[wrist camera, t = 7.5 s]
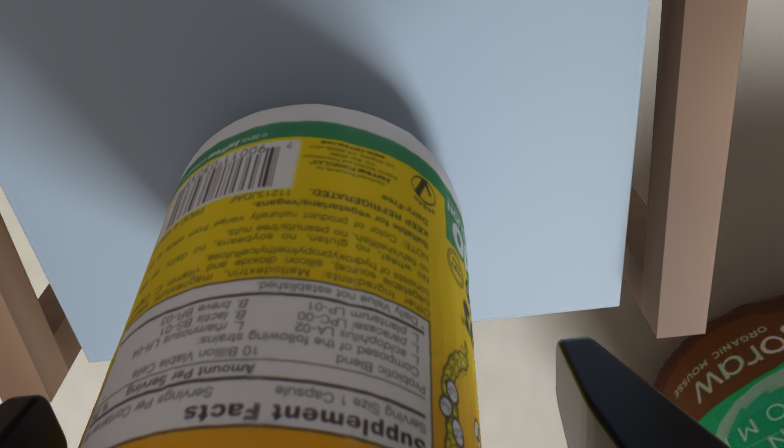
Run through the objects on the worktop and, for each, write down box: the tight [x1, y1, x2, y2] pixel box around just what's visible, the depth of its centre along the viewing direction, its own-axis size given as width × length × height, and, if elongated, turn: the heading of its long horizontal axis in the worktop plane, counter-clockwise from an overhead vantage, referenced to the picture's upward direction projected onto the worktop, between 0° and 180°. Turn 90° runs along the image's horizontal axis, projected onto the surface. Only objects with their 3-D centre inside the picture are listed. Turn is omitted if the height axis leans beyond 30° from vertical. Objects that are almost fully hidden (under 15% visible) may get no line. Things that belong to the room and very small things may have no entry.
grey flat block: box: [0, 0, 649, 363], centre depth 12 cm, size 13×14×3 cm
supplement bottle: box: [78, 104, 482, 448], centre depth 10 cm, size 5×5×10 cm
